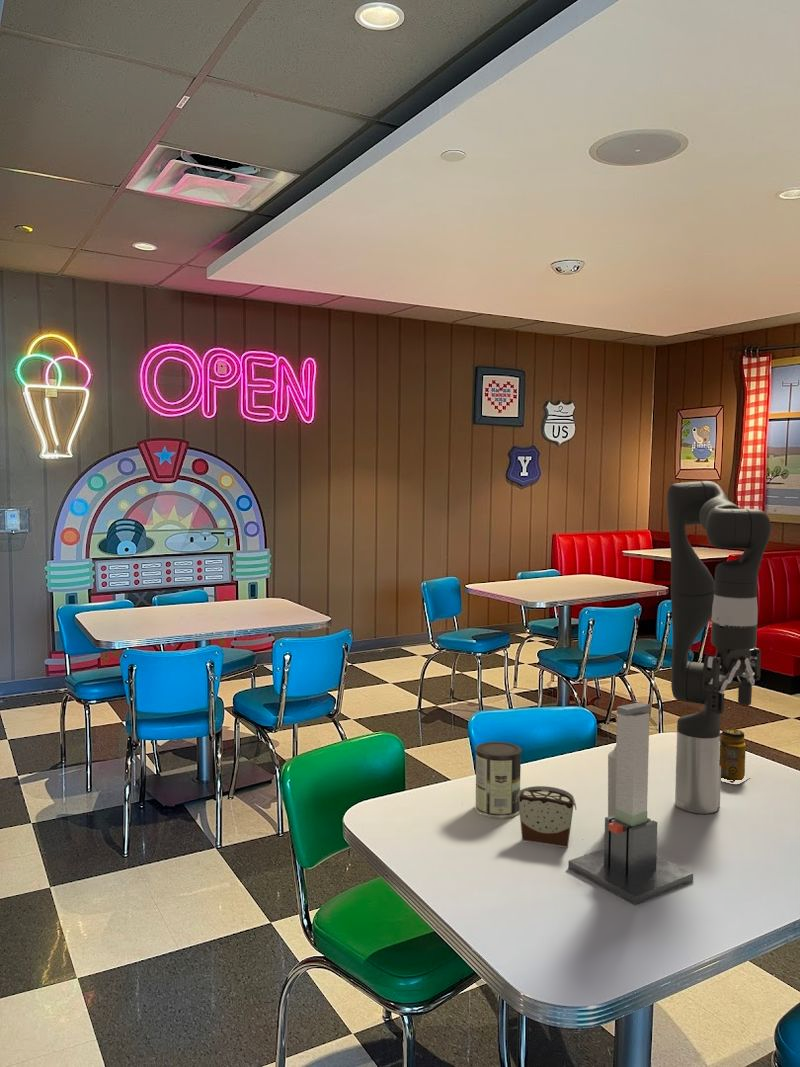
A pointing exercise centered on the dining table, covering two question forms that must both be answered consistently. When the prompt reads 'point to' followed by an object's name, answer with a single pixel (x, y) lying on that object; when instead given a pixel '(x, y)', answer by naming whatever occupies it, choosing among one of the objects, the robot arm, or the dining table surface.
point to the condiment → (732, 754)
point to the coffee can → (497, 779)
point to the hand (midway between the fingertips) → (730, 708)
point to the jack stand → (630, 863)
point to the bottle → (612, 779)
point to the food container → (545, 815)
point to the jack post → (632, 764)
